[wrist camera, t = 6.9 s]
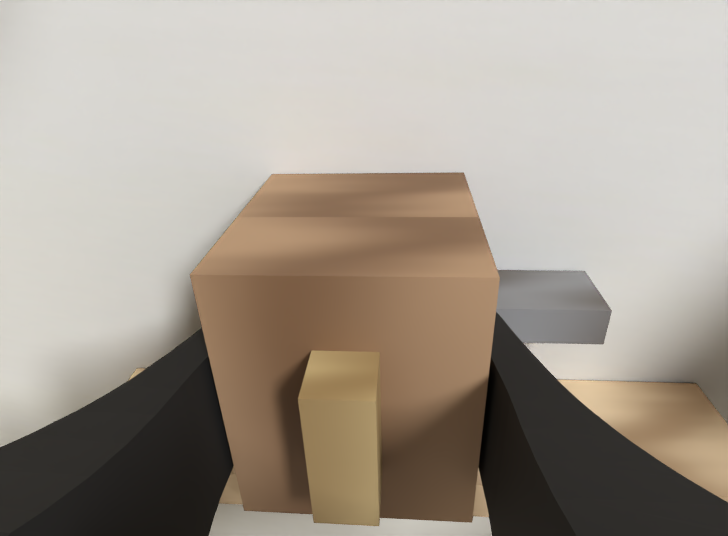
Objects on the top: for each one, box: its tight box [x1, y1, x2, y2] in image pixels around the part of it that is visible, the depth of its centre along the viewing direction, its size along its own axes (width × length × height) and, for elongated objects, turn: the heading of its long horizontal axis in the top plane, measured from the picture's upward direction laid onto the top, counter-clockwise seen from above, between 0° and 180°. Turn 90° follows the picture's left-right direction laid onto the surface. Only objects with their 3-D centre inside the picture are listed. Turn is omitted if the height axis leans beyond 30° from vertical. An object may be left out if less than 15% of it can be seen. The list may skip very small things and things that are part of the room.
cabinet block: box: [190, 173, 500, 526], centre depth 11 cm, size 5×6×7 cm
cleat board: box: [128, 270, 728, 517], centre depth 13 cm, size 18×5×4 cm, turn 92°
